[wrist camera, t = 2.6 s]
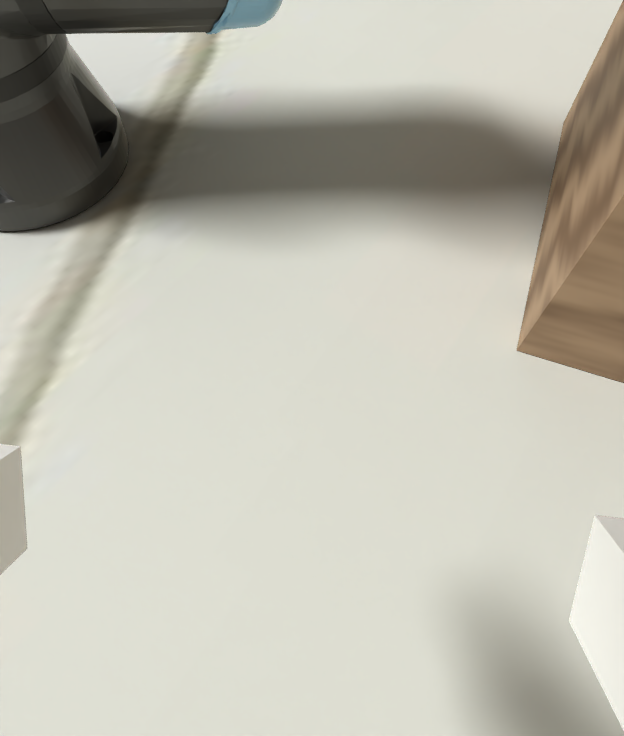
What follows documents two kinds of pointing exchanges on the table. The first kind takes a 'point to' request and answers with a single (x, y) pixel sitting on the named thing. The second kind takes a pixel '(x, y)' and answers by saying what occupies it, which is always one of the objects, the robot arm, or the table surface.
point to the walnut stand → (584, 230)
